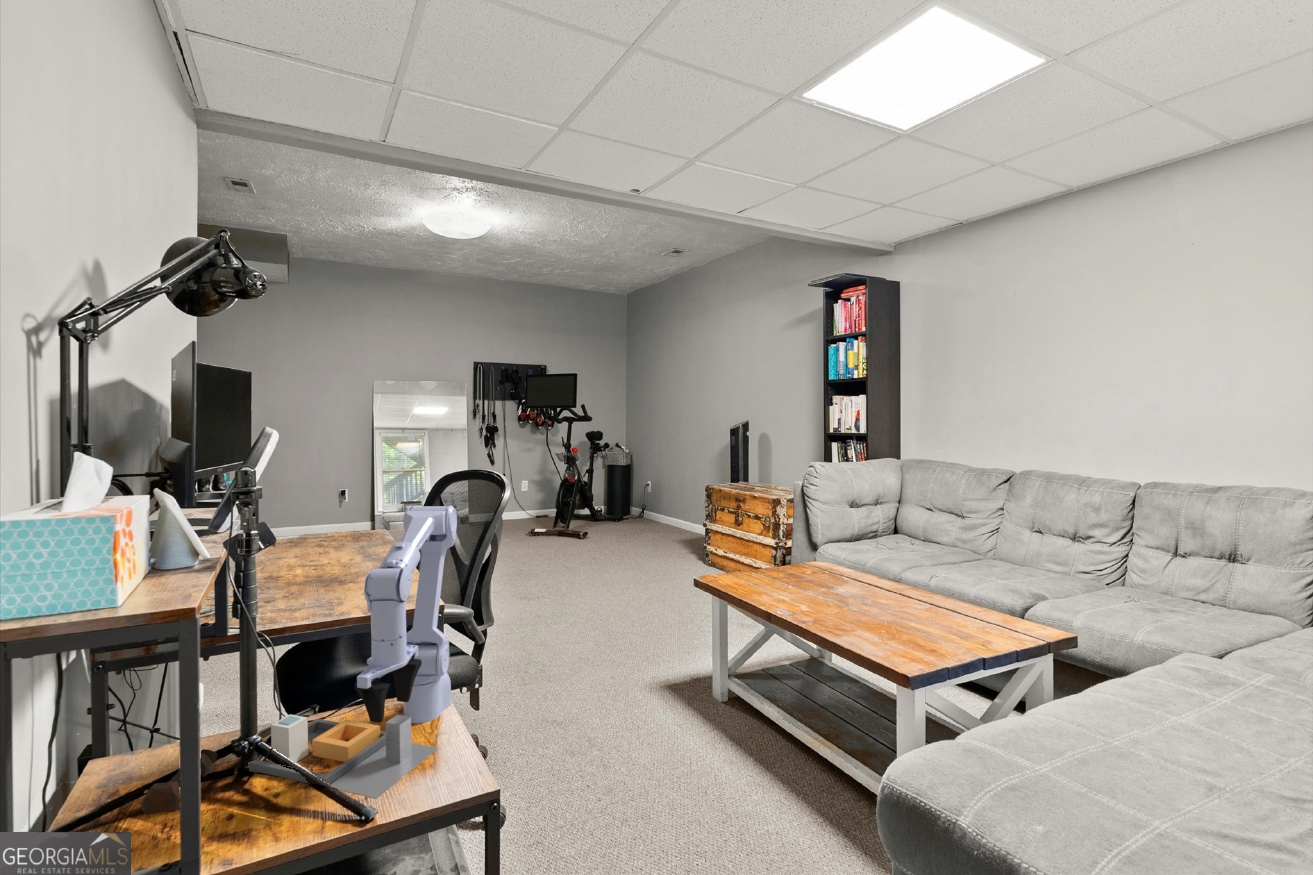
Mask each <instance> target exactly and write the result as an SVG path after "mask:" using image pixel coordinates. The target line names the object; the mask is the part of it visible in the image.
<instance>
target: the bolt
mask: <svg viewBox="0 0 1313 875" xmlns="http://www.w3.org/2000/svg"><path fill="white" fill-rule="evenodd" d="M200 751H201V775H202V778H203V777H206V776H207V775H208V774H209V773H210V772H211V770H212V768H213V767H214V765H213V764H214V763H216V761H217V760H218V758H217V757H218V754H217V752H216V751H213V750H212V749H209V748H208V749H205V748H204V749H203V748H202V749H201V750H200ZM140 808H141V810H142V812H143V814H144V815H148V814H150V815H151V814H160V813H167V812H176V811H177V810H178V809H179V808H180V807H179V769H178V770H177V772H176V773H175V775H174V776H173V777H172V778H171V779H170V780H169V781H167V782H158V783H154V784H153V785H152V786H151V787H150V788H149V789H148V791H147V792H146V794H145V796H144V797H143V799H142V800H141V802H140Z"/></svg>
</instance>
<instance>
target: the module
mask: <svg viewBox="0 0 1313 875" xmlns="http://www.w3.org/2000/svg"><path fill="white" fill-rule="evenodd" d="M308 724H309V722H308V717H306V716H301V715H295V714H288V715H286V716H285V717H282V718H281V719H279V720H278V721H275V722H274V723H271V725H270V731H271V732H270V738H271V740H270V741H271V745H272V748H274V749H276V751H277V752H279V753H281V754H283V755H284V756H286V757H287V758H289V759H290V760H292V761H293V762H296V763H297V762H298V761H300V760H302V759H303V758H305V757H307V756H309V742H308ZM271 745H270V746H271ZM272 763H273V764H275V763H274V762H272Z"/></svg>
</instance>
